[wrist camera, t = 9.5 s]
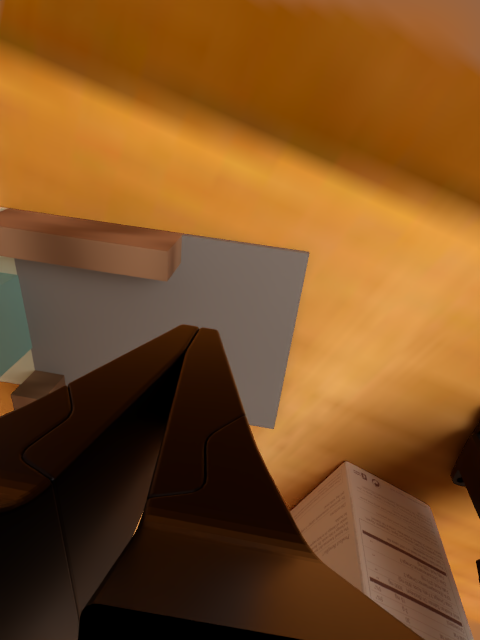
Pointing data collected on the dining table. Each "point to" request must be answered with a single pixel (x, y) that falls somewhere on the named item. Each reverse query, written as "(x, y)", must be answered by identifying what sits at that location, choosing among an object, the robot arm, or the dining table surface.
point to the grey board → (168, 314)
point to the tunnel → (83, 261)
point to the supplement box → (384, 550)
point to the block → (12, 323)
